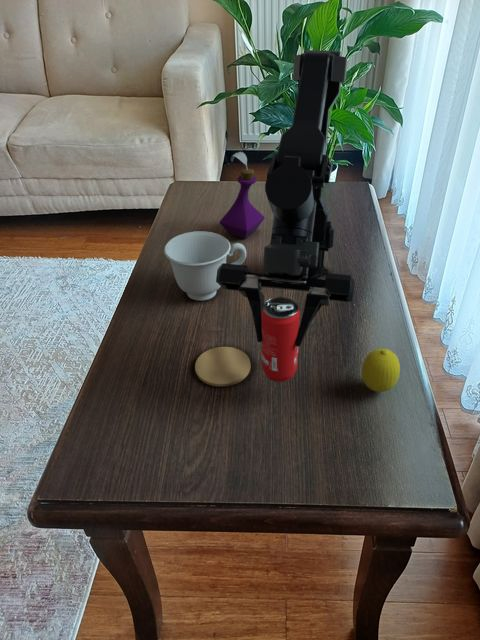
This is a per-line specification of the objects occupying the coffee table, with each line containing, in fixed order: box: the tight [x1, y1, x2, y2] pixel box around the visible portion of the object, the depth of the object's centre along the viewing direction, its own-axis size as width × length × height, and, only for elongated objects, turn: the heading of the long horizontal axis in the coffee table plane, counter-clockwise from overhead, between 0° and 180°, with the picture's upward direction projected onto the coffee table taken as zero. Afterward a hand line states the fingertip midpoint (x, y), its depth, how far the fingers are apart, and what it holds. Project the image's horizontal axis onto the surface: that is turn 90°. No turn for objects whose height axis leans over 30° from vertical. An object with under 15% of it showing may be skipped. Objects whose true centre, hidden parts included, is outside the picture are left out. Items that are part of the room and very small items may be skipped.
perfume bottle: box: [219, 151, 266, 240], centre depth 113 cm, size 8×8×18 cm
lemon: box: [361, 347, 401, 393], centre depth 78 cm, size 6×6×8 cm
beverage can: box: [261, 296, 301, 383], centre depth 74 cm, size 5×5×12 cm
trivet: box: [194, 346, 252, 388], centre depth 85 cm, size 9×9×1 cm
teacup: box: [163, 230, 247, 302], centre depth 98 cm, size 12×15×10 cm
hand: (278, 344), depth 72 cm, fingers closed on beverage can, 5 cm apart
